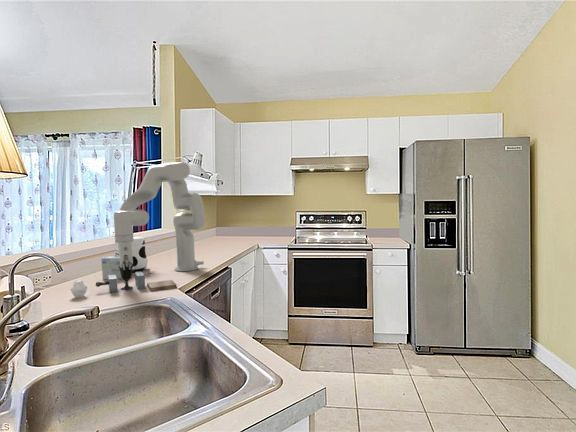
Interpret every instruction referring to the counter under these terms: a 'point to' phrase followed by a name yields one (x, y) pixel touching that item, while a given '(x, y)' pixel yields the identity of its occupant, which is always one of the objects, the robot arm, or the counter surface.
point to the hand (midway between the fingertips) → (126, 276)
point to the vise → (113, 282)
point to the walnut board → (161, 285)
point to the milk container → (136, 253)
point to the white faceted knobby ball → (78, 289)
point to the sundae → (125, 279)
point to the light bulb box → (111, 266)
